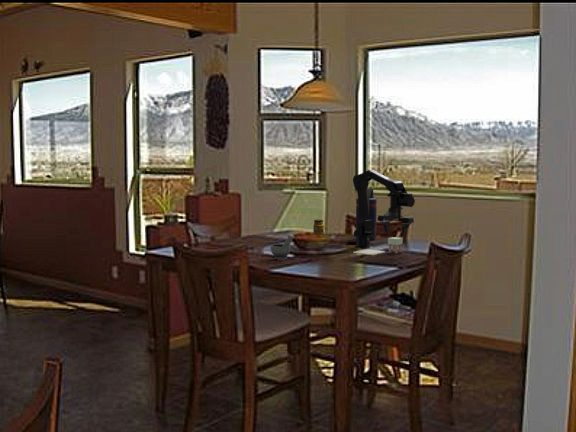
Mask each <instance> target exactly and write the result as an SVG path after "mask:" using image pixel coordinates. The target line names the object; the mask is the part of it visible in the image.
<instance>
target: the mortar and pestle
mask: <svg viewBox="0 0 576 432" xmlns="http://www.w3.org/2000/svg"><path fill="white" fill-rule="evenodd" d="M293 239H294V236H293V235H290V234H288V236H287V238H286V240H285V241H284V243H277V244H271V245H270V252H271V254H272V255H273V256H274V260H275V259H278V260H277V261H286V260H285V259H287V260H288V256H289V254H290V253H291V247H292V245H291V243H292V241H293Z"/></svg>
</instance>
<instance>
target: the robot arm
mask: <svg viewBox="0 0 576 432" xmlns="http://www.w3.org/2000/svg"><path fill="white" fill-rule="evenodd" d="M372 180H373V181H375V182H377V183H379V184H381V185H382V186H384V187H385V188H386V190H388V191H389V193H388V194H387V195H386V196H387V197H389V198H390V200H389V201H390V202H389V203H390V204H389V207H388V211H386V212H385V213H384V214H380V215H377V222H379V223H380V224H382V226H383V228H384V231H385V234H386V235H387V236H389V233H390V225H391V224H390V223H391V222H393V221H395V222H401V224H400V225H401V238H403V237H405V234H406V232H407V230H408V228H409V227H410V226H411V225H412V223H415V219H414V217H413V216H403V214H402V210H403V208H412V207H414V205H415V203H416V200H415V197H414V196H413V193H408V192H407V189H406V188H405V186H404V183H403V181H400V180H397V179H392V178H390V177H387V176H385V175H383V174H382V173H380V172H378V171H376V170H375V169H368V170H366V171H364V172H361V173H359V174H355V175H354V176H353V178H352V183H353V184H352V185H353V187H354V189H355V191H356V193H357V198H358V204H359V215H360V218H359V221H358V226H357V229H356V228H355V230H354V231H353V236H354V237H355V238H356V239H355V242H356V243H355V245H354V248H361V249H368V248H371V244H370V241H371V240H370V239H369V236H371V234H372V231H373V227H374V225H373V220H371V219H370V218H369V213H368V202H367V189H369V188H368V187H369V182H370V181H372Z"/></svg>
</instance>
